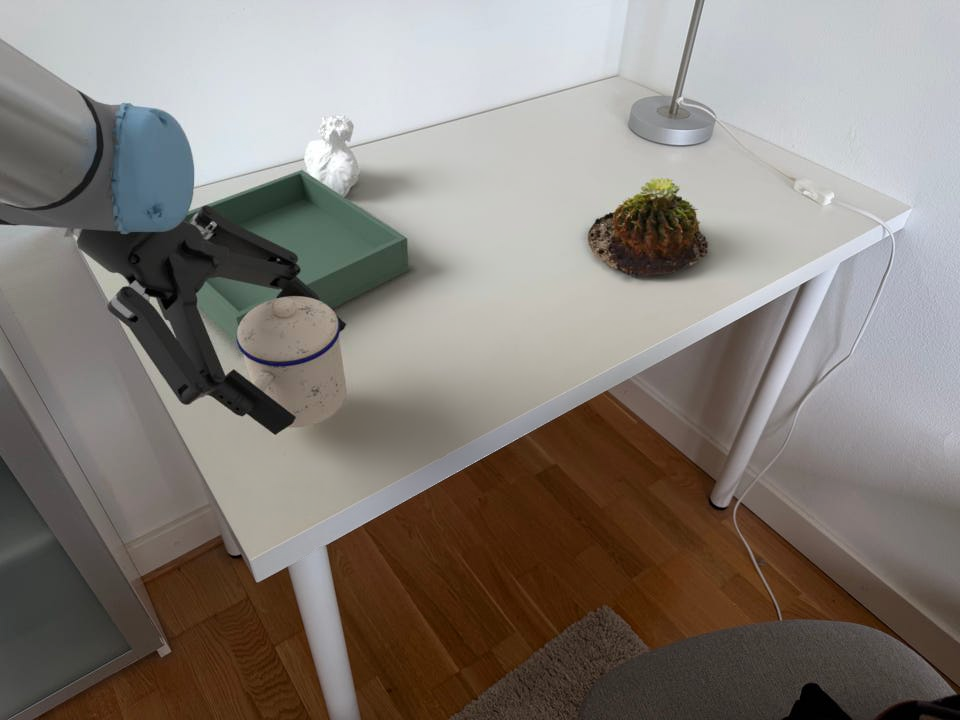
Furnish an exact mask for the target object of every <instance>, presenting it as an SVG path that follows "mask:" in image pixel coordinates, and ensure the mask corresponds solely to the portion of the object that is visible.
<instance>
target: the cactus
mask: <svg viewBox="0 0 960 720" xmlns="http://www.w3.org/2000/svg"><path fill="white" fill-rule="evenodd" d="M644 183H645V184H644V186H641V187H640V190H641V191H640V193H636V194H635V195H634V196H633V197H627V199H625V200H622V204H618V205H617V206H618V207H617V208H615V210H614V211H613V212H609V213H605V214H604V216H601V217H599V218H596V219H595V221H594V223H593V224H592V225H591V227H590V228H589V230H588V232H587V242H588V245H589V247H590V250H591V252H592V253H593V254H594V255H595V256H596V258H598V259H599V260H600V261H602V262H603V263H605V264H606V265H608V266H610V267H611V268H614V269H616V270H617V271H623V272H626V274H627V276H631V275H634V276H635V277H644V276H649V275H651V276H652V275H664V274H670V273H674V272H677V271H680V270H683V269H684V268H685V267H686V266H687V267H688V266H689V267H691V266H693V265H694V264H695V263H697V262H699V261H700V260H702V258H704V257H705V256H706V255H707V254H708V252H709V251H708V250H709V249H708V247H709V246H708V245H709V242H708V241H707V238H706V236H704V234H702V233H701V231H700V224H701V221H699V220H698V217H697V212H696V211H698V210H699V208H695V206H693V204H692V203H690V201H688V200H687V199H683V197H682V196H677V193H678V192H679V191H680V190H681V188H680V185H676V184H675V183H673V179H669V178H668V177H666V178H665V179H664V178H663V177H660V178H651V179H650V182H644Z"/></svg>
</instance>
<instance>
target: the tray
mask: <svg viewBox="0 0 960 720" xmlns="http://www.w3.org/2000/svg"><path fill="white" fill-rule="evenodd" d="M206 205H207V206H210V207H211V208H212V209H214V210H215V211H216V212H217V213H219V214H220V215H221V216H222V217H224V218H225V219H226V220H228V221H230V222H232V223H234V224H236V225H238V226H240V227H242V228H244V229H246V230H248V231H250V232H252V233H254V234H256V235H259V236H261V237H263V238H265V239H267V240H269V241H271V242H273V243H275V244H277V245H279V246H281V247H283V248H285V249H287V250H290V251H292V252H293V253H295V254H296V255H297V257H298V261H297V262H296V264H297V265H299V267H300V269H301V272H300V273H299V274H298V275H297V277H298V278H299V279H300V280H301V281H302V282H303V283H304V284H306V285H307V286H308V287H309V288H310V289H311V290H312V291H314V292H315V293H316V294H317V295H318V297H319V298H320V299H319V301H321V302H323V303H324V304H326V305H327V306H329V307H330V308H331V309H332V310H333V309H336V308H338V307H339V306H341V305H343V304H346V303H347V302H349V301H352V300H353V299H355V298H357V297H358V296H361V295H363V294H365V293H367V292H368V291H371V290H373V289H375V288H377V287H378V286H381V285H383V284H385V283H388V282H389V281H392V280H393V279H395V278H397V277H398V276H400V275H403V274H404V273H406V272H408V271H410V269H409V267H410V266H409V250H408V249H409V246H408V237H407V236H406V235H403V234H402V233H400V232H399V231H397V230H396V229H394V228H393V227H391V226H390V225H388V224H387V223H385V222H384V221H382V220H380V219H379V218H377V216H374V215H373V214H371V213H370V212H368V211H366V210H365V209H363V208H362V207H360V206H359V205H357V204H356V203H354V202H353V201H351V200H349V199H348V198H347V197H346V196H344V197H343V196H342V195H340V194H339V193H337V192H335V191H334V190H332V189H331V188H329V187H328V186H326V185H325V184H323V183H322V182H320V181H318V180H317V179H315V178H314V177H312V176H311V175H310V174H309V173H308V172H307V171H305V170H304V169H300V170H297V171H295V172H292V173H289V174H287V175H284V176H281V177H278V178H276V179H273V180H270V181H268V182H265V183H262V184H259V185H257V186H254V187H252V188H248V189H246V190H243V191H240V192H238V193H234V194H232V195H229V196H226V197H224V198H221V199H218V200H215V201H213V202H210V203H207V204H206ZM201 208H202V206H199V207H196V208H194V209H191V210H189V211H188V213H187V215H186V217H185V218H184V221H186V222H188V223H189V221H190V220H191V219H192V218H193V217H194V215H195V214H196V213H197V212H198V211H199V210H200V209H201ZM204 240H205V242H206V243H210V242H209V241H207V240H206V239H204ZM210 244H212V243H210ZM277 260H278V261H279V260H280V259H277ZM281 291H282V289H280V290H277V289H273V288H268V287H263V286H259V285H254V284H249V283H245V282H240V281H235V280H230V279H226V278H221V277H216V278H209V279H208V280H207V281H206V282H205V283H204V285H203V287H202V288H201V289H200V290H199V291H198V292H197V293H196V296H197V307H198V308H199V309H201V311H203V313H204V314H206V315H207V317H209V318H210V319H211V321H213V322H214V323H215V324H216V325H217V326H218V327H219V328H220V329H221V330H222V331H223V332H224V333H225V334H226V335H227V336H228V337H229V338H230V339H231V340H233V341H234V343H235V344H237V331H238V327H239V325H240V323H241V321H242V319H243V318H244V317H245V315H246V314H247V313H248V312H250V311H251V310H252V309H254V308H255V307H257V306H258V305H260V304H262V303H264V302H267V301H270V300H273V299H276V297H277V296H278V294H279V293H280V292H281Z"/></svg>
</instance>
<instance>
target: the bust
mask: <svg viewBox="0 0 960 720" xmlns="http://www.w3.org/2000/svg"><path fill="white" fill-rule="evenodd" d="M321 119H322V123H321V124H320V126H319V127H318V130H317V133H318V135H319V136H320V138H321V139H313V140H311V141H310V142H308V143H307V147H306V149H305V152H304V153H305V154H304V165H305V166H306V167H305V168H306V172H307V173H308V174H309V175H311V176H312V177H314V178H315V179H317V180H318V181H320V182H322V183H323V184H325V185H326V186H328V187H329V188H331V189H332V190H334V191H335V192H337V193H339V194H340V195H342V196H343V197H346V196H347V195H348V193H349V191H350V189H351V188H352V187H354V186H355V185H356V184H357V182H358V180H359V176H360V175H359V174H360V173H361V170H360V168H359V164H358V161H357V158H356V156H355V154H354V152H353V151H352V150H351V148H349V147H348V145H347V143H350V142H351V139H352V136H353V133H354V128H355V126H354V123H353V122H352V121H351V120H350V119H349V118H348V117H346V115H343V114H342V115H330V117H326V116H322V117H321ZM346 141H347V143H346Z"/></svg>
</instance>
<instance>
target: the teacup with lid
mask: <svg viewBox="0 0 960 720" xmlns="http://www.w3.org/2000/svg"><path fill="white" fill-rule="evenodd" d="M336 315H337V314H336V312H335V311H334V310H333V309H331V308H330V307H329V306H327V305H326V304H324V303H323V302H321V301H318V300H316V299H313V298H308V297H302V296H289V297H281V298H276V299H273V300H270V301H267V302H264V303H262V304H260V305H258V306H257V307H255V308H254V309H252V310H251V311H250V312H248V313H247V314H246V315H245V317H244V318H243V319H242V321H241V323H240V325H239V327H238V331H237V343H236V344H237V347H238V349H239V351H240V352H241V353H242V355H243V359H244V362H245V366H246V370H247V373H248V376H249V377H248V378H249V381H250V382H251V383H252V384H254V385H255V386H256V387H258V388H259V389H260V390H262V391H263V392H264V393H265V394H267V395H268V396H269V397H271V398H272V399H273V400H275V401H276V402H277V403H278V404H280V405H281V406H282V407H284V408H285V409H286V410H288V411H289V412H290V413H291V414H293V415H294V416H295V417H296V418H295V420H294V422H293V424H291V425H290V426H288V427H287V428H305V427H310V426H313V425H316V424H320V423H321V422H324V421H326V420H327V419H329V418H330V417H332V416H333V415H335V413H336V412H337V411H338V410H339V409H340V408H341V407H342V406H343V403H344V402H345V400H346V396H347V384H346V375H345V370H344V362H343V355H342V349H341V341H340V333H341V332H340V322H339V319H338V317H339V316H338V315H337V316H338V317H337V316H336ZM254 421H255V422H257V421H256V420H254Z"/></svg>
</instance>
